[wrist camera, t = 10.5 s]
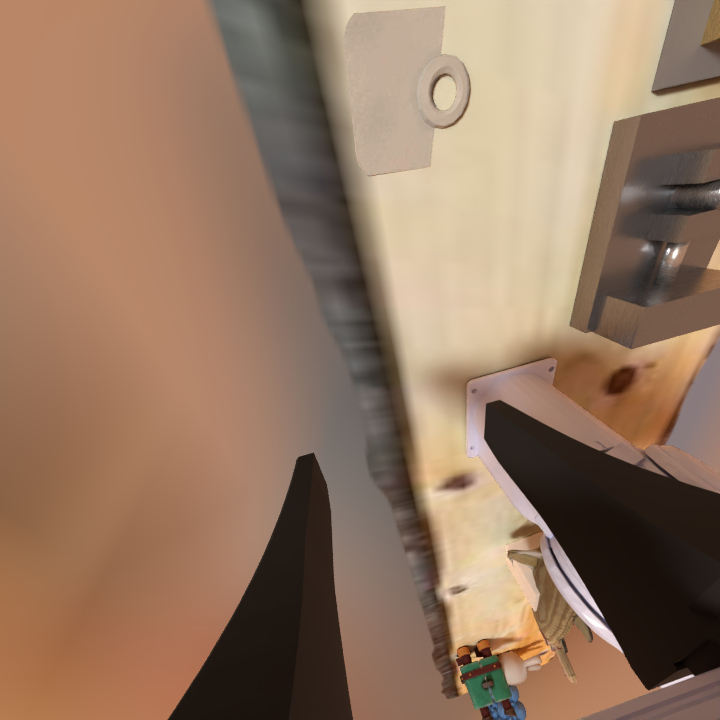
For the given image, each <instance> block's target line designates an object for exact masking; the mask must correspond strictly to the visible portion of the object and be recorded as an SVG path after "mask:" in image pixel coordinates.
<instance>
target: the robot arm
mask: <svg viewBox="0 0 720 720" xmlns="http://www.w3.org/2000/svg"><path fill="white" fill-rule="evenodd" d="M556 367H557V360H556V359H554V358H548V359H544V360H540V361H537V362H533V363H530V364H526V365H522V366H519V367H515V368H512V369H508V370H504V371H501V372H497V373H494V374H490V375H486V376H483V377H479V378H476V379H472V380H470V381H469V382H468V383H467V412H466V454H467V456H468V457H469V458H473V457H476V456H479V458H480V459H481V461H482V462H483V463H484V465H485V466H486V468H487V469H488V471H489V472H490V473H491V475H492V476H493V478H494V479H495V481H496V482H497V483H498V485H499V486H500V488H501V489H502V491H503V492H504V493H505V495H506V496H507V498H508V499H509V501H510V502H511V503H512V505H513V506H514V507H515V508H516V510H517V511H518V512H519V513H520V514H522V515H523V516H524V517H525V518H527V519H528V520H530V521H531V522H533V523H535V524H537V525H539V527H540V528H541V529H542V531H543V532H544V534H543V535H542V536H541V539H540V548H541V552H542V555H543V559H544V563H545V566H546V568H547V570H548V573H549V575H550V577H551V578H552V580H553V582H554V584H555V585H556V587H557V589H558V590H559V592H560V593H561V594H562V596H563V597H564V599H565V600H566V601H567V603H568V604H569V605H570V606H571V608H572V609H573V610H574V611H575V612H576V614H577V615H578V616H579V617H580V618H581V619H582V620H583V621H584V622H585V623H586V624H587V625H588V626H589V627H590V628H591V629H592V630H593V631H594V632H595V633H597V634H598V635H599V636H600V637H601V638H603V639H604V640H605V641H607V642H608V643H610V644H611V645H613V646H614V647H616V648H617V649H618V650H620V651H621V652H622V653H623V654H624V655H625V657H626V658H627V660H628V662H629V664H630V666H631V668H632V669H633V671H634V672H635V673H636V675H637V676H638V678H639V679H640V680H641V682H642V683H643V685H644V686H645V688H646V689H648V690H651V689H654V688H656V687H660V688H662V689H659V690H657V691H654V692H651V693H648V694H646V695H643V696H640V697H638V698H635V699H632V700H629V701H627V702H624V703H621V704H618V705H616V706H613V707H610V708H608V709H605V710H602V711H600V712H597V713H594V714H592V715H589V716H586V717H583V718H581V719H578V720H720V473H718V472H717V471H715V470H714V469H712V468H710V467H708V466H707V465H705V464H704V463H702V462H700V461H699V460H697V459H695V458H694V457H692V456H690V455H689V454H687V453H685V452H684V451H682V450H680V449H678V448H676V447H674V446H663V445H662V446H659V445H656V444H651V445H650V446H648V447H647V448H646V449H645V451H644V450H642V449H640V448H637V447H636V446H634V445H633V444H632V443H630V442H629V441H627V440H626V439H625V438H623V437H622V436H621V435H619V434H618V433H617V432H615V431H614V430H612V429H611V428H610V427H608V426H607V425H606V424H604V423H603V422H601V421H600V420H599V419H597V418H596V417H595V416H593V415H592V414H591V413H589V412H588V411H586V410H585V409H584V408H582V407H581V406H580V405H578V404H577V403H575V402H574V401H573V400H571V399H570V398H569V397H567V396H566V395H565V394H563V393H562V392H560V391H559V390H558V389H556V388H555V387H554V386H553V381H554V376H555V372H556ZM473 389H474V390H473ZM472 390H473V391H472ZM333 572H334V571H333V549H332V527H331V509H330V502H329V495H328V489H327V484H326V481H325V479H324V476H323V474H322V472H321V469H320V467H319V464H318V462H317V460H316V457H315V455H314V453H311V454H307V455H304V456H300V457H298V459H297V460H296V465H295V469H294V472H293V476H292V480H291V483H290V486H289V490H288V492H287V495H286V498H285V501H284V504H283V507H282V510H281V513H280V515H279V518H278V521H277V523H276V526H275V528H274V531H273V533H272V536H271V538H270V541H269V543H268V545H267V547H266V550H265V552H264V555H263V556H262V559H261V561H260V563H259V565H258V567H257V569H256V571H255V573H254V576H253V578H252V580H251V581H250V583H249V585H248V587H247V589H246V591H245V593H244V595H243V597H242V599H241V601H240V603H239V605H238V607H237V608H236V610H235V612H234V614H233V616H232V617H231V619H230V621H229V623H228V624H227V626H226V628H225V629H224V631H223V633H222V634H221V636H220V638H219V640H218V641H217V643H216V645H215V646H214V648H213V650H212V652H211V653H210V655H209V657H208V658H207V660H206V661H205V663H204V665H203V666H202V668H201V670H200V671H199V673H198V674H197V676H196V677H195V679H194V680H193V682H192V683H191V685H190V687H189V688H188V690H187V691H186V693H185V694H184V696H183V697H182V699H181V700H180V702H179V703H178V705H177V707H176V708H175V710H174V711H173V713H172V714H171V716H170V717H169V719H168V720H353V717H352V711H351V705H350V698H349V691H348V684H347V677H346V670H345V664H344V657H343V649H342V642H341V635H340V627H339V620H338V611H337V603H336V595H335V586H334V573H333Z"/></svg>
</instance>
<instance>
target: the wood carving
mask: <svg viewBox="0 0 720 720" xmlns="http://www.w3.org/2000/svg"><path fill="white" fill-rule="evenodd" d="M543 534H544V532H543V531H542V532H540V533H537V534H534V535H531V536H529V537H526V538H523V539H521V540H518V541H515V542H513V543H510V544H507V545H506V563H507V565H508V566H509V568H510V570H511V572H512V573H513V575H514V577H515V579H516V580H517V582H518V584H519V586H520V587H521V589H522V591H523V593H524V594H525V596H526V598H527V600H528V601H529V603H530V605H531V607H532V611H533V614H534V617H535V619H536V622H537V624H538V627H539V630H540V632H541V634H542V635H543V637H544V640H545V644H546V645H547V646H548V645H550V646H551V651H555V653H556V655H557V657H558V659H559V661H560V664H561V666H562V669H563V671H564V673H565V676H566V677H567V678H568V679H569V680H570V681H571V682H572V683H577V682H578V681H577V678H576V675H575V673H574V671H573V668H572V666H571V664H570V662H569V659H568V657H567V655H566V653H567V652H568V650H567V647H566V643H565V639H564V638H565V637H566V636H567V635H568V633H569V632H570V630H571V629H572V626H573V624H575V625H576V626H577V627H578V628H579V629H580V630H581V632H582V633H583V634H584V636H585V638H586V639H587V640H588V641H589V642H592V640H593V636H592V632H591V629H590V627H589V626H588V625H587V624H586V623H585V622H584V621H583V620H582V619H581V618H580V617H579V616H578V615H577V614H576V612H575V611H574V610H573V609H572V608H571V606H570V605H569V604H568V603H567V601H566V600H565V599H564V597H563V596H562V594H561V593H560V592H559V590H558V589H557V587H556V585H555V584H554V582H553V580H552V578H551V577H550V575H549V573H548V570H547V568H546V566H545V563H544V559H543V555H542V552H541V548H540V539H541V536H542V535H543Z"/></svg>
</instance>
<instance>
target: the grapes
mask: <svg viewBox="0 0 720 720" xmlns="http://www.w3.org/2000/svg"><path fill="white" fill-rule="evenodd" d="M488 688H489V687H488ZM509 688H510V691H511V694H512V697H511V698H509V701H510V703H511V706H512V708H514V710H515V712H516V715H517V716H508V715H505V714H504V708H503V705H502V703H501V701H500V702H497V703H496V702H495V700H494V698H493V695H492V693H491V691H490V688H489V691H490V694H491V697H492V700H493V704H491V705H489V706H488V709H489V712H490V715H492V717H493V720H525V718H526V710H525V707H524V705H523V704H522V703H521V702H520V701H519V702H518V699H519V692H518V689H517V687H516V686H515V685H509Z"/></svg>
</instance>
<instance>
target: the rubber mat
mask: <svg viewBox="0 0 720 720" xmlns="http://www.w3.org/2000/svg"><path fill="white" fill-rule="evenodd" d="M713 2H714V0H675V4H674V8H673V12H672V15H671V19H670V23H669V27H668V31H667V35H666V38H665V42H664V46H663V50H662V54H661V58H660V61H659V65H658V69H657V73H656V77H655V81H654V84H653V88H652V91H657V90H662V89H666V88H671V87H675V86H680V85H685V84H689V83H694V82H698V81H703V80H707V79H712V78H717V77H720V41H719V42H715V43H710V44H705V45H700V44H701V41H702V37H703V34H704V31H705V28H706V24H707V21H708V18H709V15H710V11H711V8H712V5H713Z"/></svg>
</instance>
